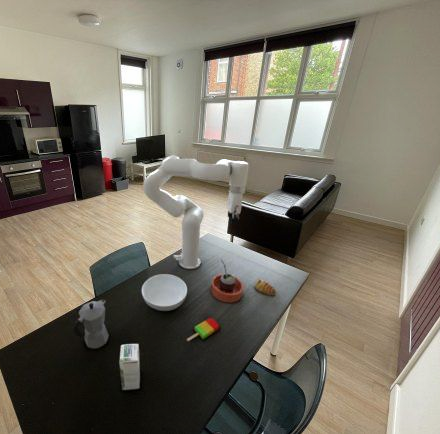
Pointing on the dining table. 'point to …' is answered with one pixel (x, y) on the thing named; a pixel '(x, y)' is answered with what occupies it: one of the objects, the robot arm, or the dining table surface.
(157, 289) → the serving bowl
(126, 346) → the syrup box
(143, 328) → the dining table surface
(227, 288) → the mate gourd
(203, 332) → the popsicle
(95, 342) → the coffeepot
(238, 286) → the terracotta bowl
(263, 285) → the pastry
